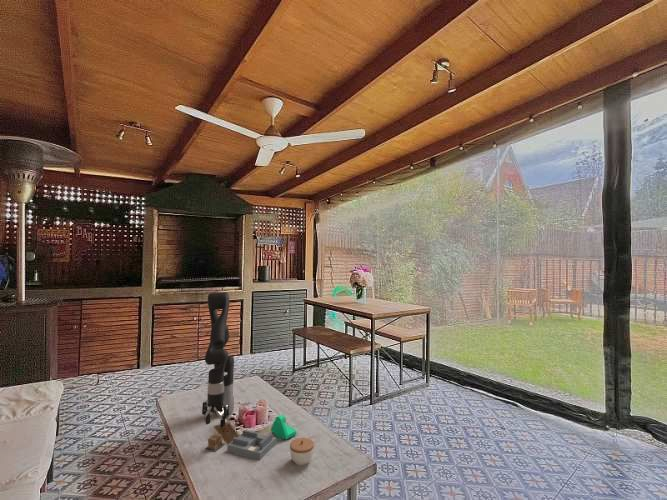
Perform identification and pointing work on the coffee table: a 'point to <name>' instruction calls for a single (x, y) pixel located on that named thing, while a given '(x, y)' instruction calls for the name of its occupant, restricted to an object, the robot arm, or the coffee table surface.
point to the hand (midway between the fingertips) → (215, 425)
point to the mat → (215, 449)
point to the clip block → (215, 441)
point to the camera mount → (282, 428)
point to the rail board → (251, 444)
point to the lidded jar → (301, 450)
